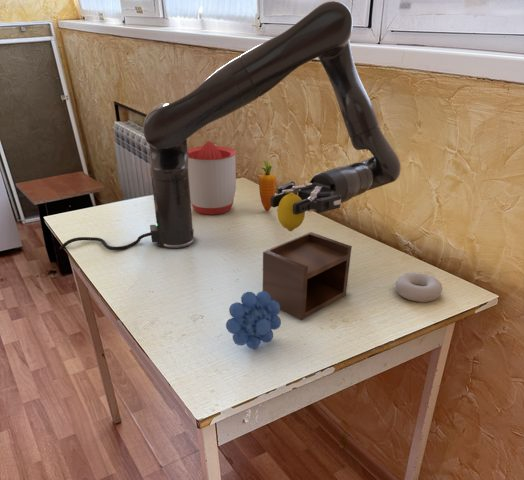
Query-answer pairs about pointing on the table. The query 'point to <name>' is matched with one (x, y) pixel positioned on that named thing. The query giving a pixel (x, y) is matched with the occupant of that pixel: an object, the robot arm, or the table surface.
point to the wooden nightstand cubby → (306, 273)
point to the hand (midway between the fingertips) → (283, 205)
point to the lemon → (289, 212)
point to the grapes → (253, 319)
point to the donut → (418, 287)
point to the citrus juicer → (211, 178)
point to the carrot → (267, 186)
